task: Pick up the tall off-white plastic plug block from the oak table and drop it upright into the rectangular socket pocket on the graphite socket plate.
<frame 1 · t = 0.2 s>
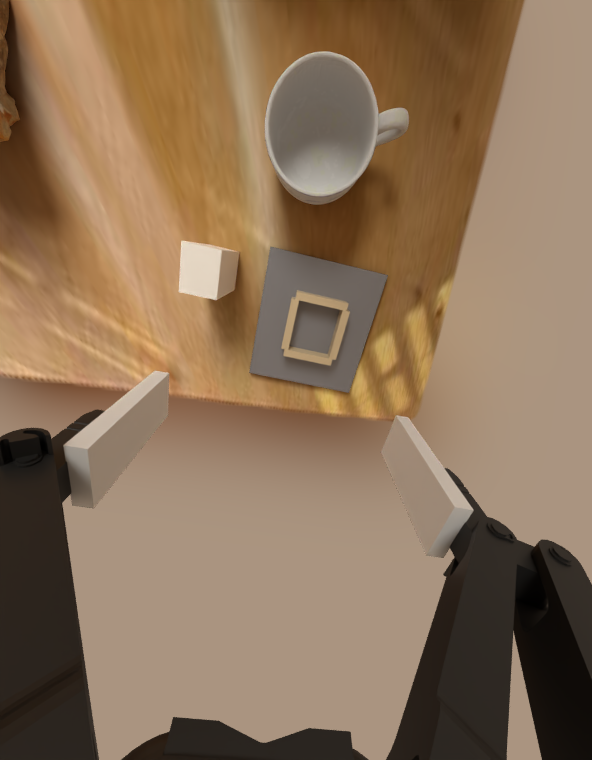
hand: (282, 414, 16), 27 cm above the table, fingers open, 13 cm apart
plug: (222, 268, 38), on the table
teacup: (329, 157, 34), on the table
socket plate: (313, 325, 41), on the table
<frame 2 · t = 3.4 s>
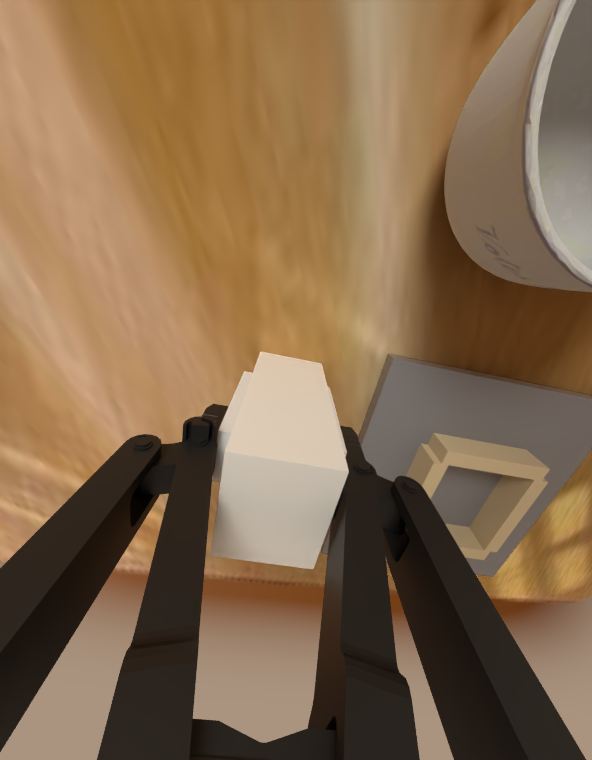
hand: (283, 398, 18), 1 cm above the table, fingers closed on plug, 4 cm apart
plug: (283, 391, 19), on the table, touching gripper
teacup: (552, 169, 14), on the table
socket plate: (446, 479, 22), on the table
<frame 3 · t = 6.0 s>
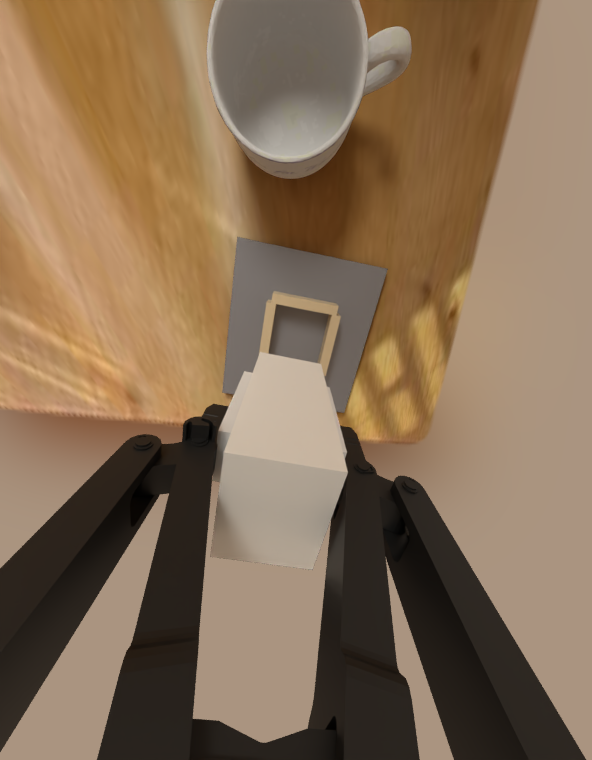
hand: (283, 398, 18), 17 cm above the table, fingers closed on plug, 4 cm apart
plug: (283, 392, 19), point 16 cm above the table, touching gripper
teacup: (307, 117, 26), on the table
socket plate: (297, 334, 34), on the table
when the fingers open (5 cm above the table, at t = 8.5 s): plug drops 3 cm, resting on socket plate.
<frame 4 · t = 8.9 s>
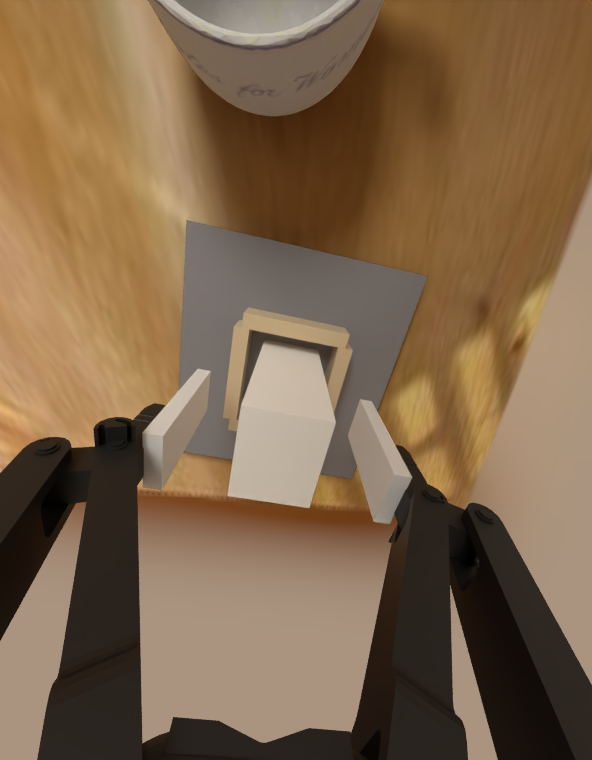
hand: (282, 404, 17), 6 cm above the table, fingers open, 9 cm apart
plug: (285, 375, 22), point 1 cm above the table, touching socket plate
teacup: (302, 11, 15), on the table
socket plate: (285, 370, 23), on the table
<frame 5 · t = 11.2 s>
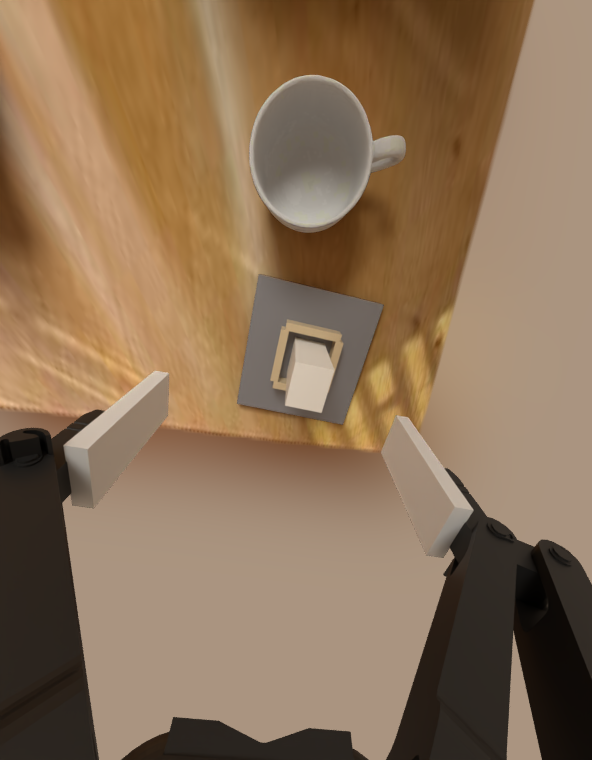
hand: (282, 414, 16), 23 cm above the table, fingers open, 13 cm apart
plug: (305, 357, 38), point 1 cm above the table, touching socket plate
teacup: (321, 182, 31), on the table
socket plate: (305, 355, 39), on the table
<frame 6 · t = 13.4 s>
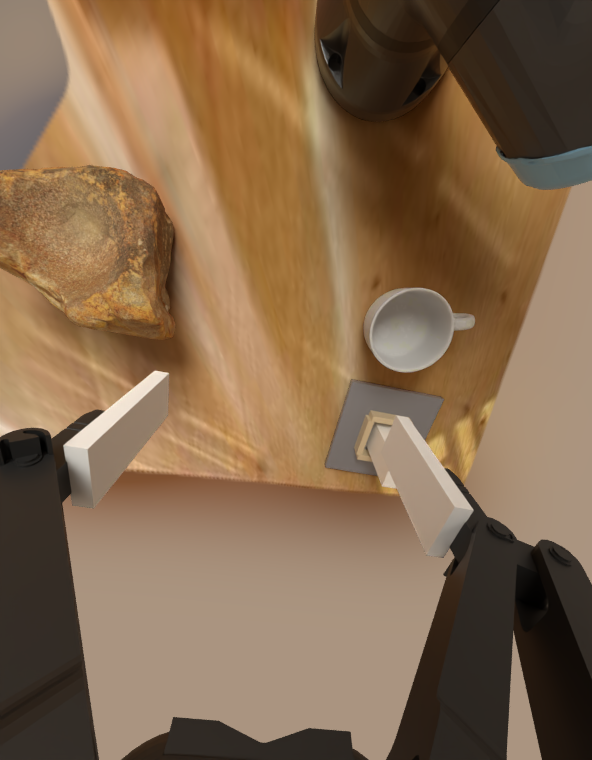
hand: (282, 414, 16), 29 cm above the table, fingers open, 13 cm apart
plug: (381, 435, 50), point 1 cm above the table, touching socket plate
rough brown rock: (133, 246, 39), on the table
teacup: (402, 320, 43), on the table
socket plate: (379, 432, 51), on the table
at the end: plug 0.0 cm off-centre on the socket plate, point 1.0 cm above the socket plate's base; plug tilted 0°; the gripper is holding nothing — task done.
